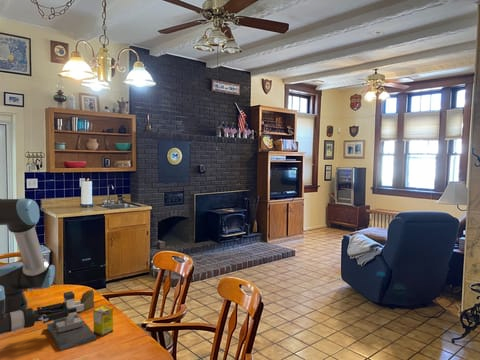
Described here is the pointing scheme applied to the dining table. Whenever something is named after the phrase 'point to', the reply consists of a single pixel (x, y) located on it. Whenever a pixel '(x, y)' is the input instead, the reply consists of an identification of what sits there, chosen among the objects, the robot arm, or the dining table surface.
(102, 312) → the supplement box
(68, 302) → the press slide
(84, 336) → the base
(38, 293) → the dining table surface
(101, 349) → the dining table surface
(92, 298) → the rock
